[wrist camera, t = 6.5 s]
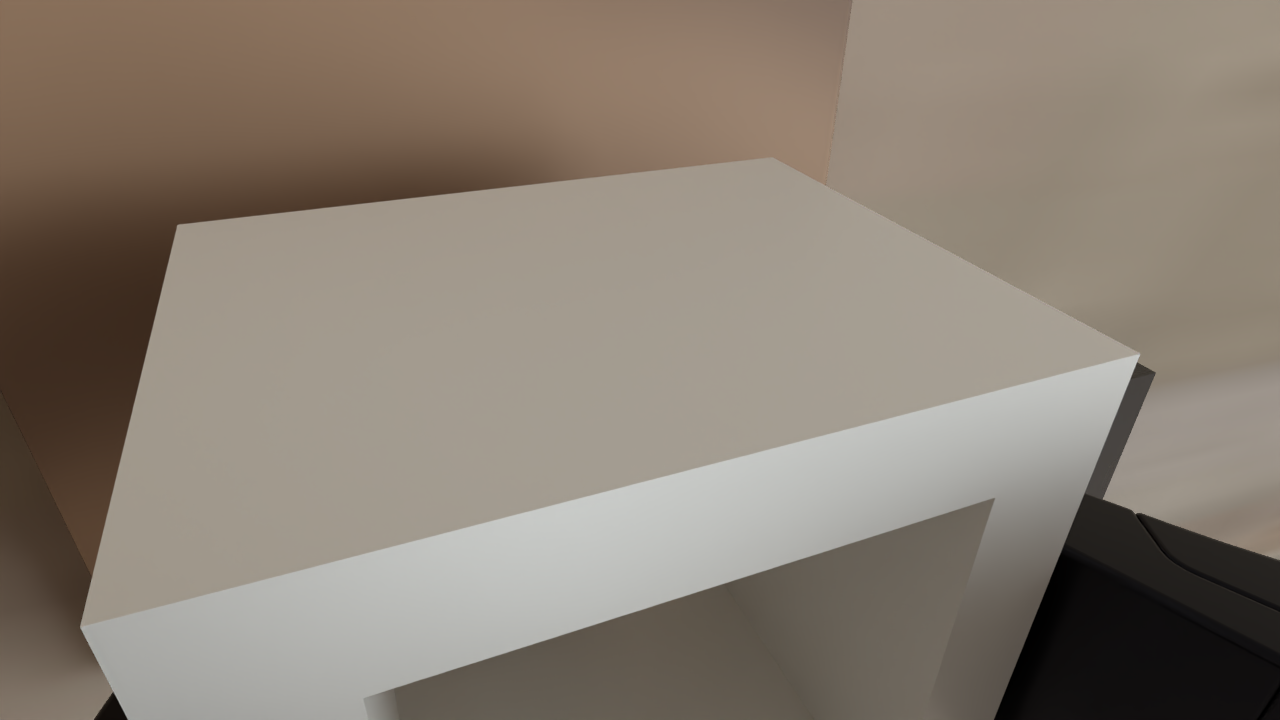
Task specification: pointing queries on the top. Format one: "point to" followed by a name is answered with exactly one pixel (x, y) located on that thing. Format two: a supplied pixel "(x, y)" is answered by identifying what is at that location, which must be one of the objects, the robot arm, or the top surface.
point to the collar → (591, 462)
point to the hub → (333, 147)
